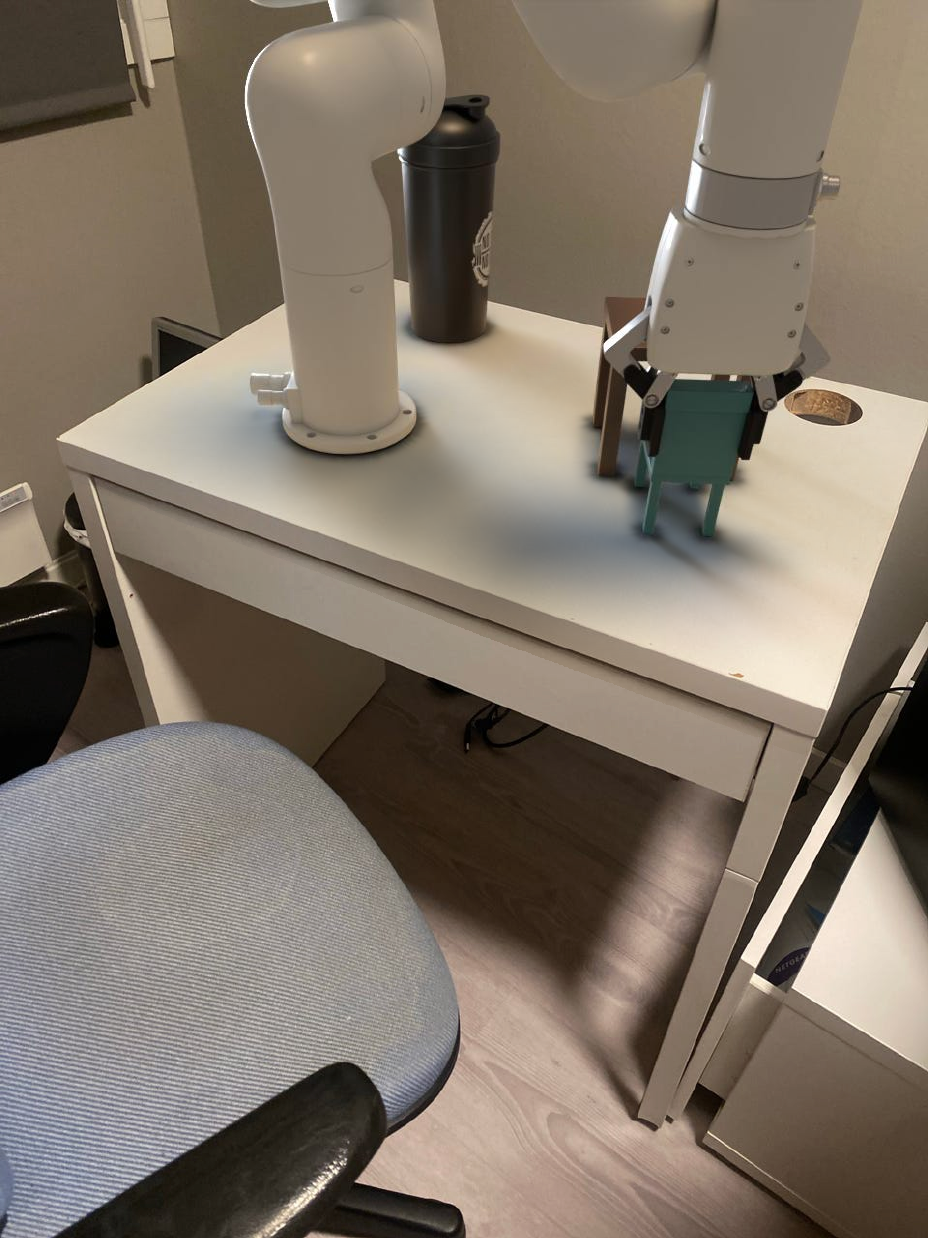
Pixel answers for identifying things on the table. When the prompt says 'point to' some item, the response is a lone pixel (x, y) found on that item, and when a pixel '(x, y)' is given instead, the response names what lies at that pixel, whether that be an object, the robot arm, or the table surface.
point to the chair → (696, 442)
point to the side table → (621, 382)
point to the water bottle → (451, 220)
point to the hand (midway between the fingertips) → (695, 447)
